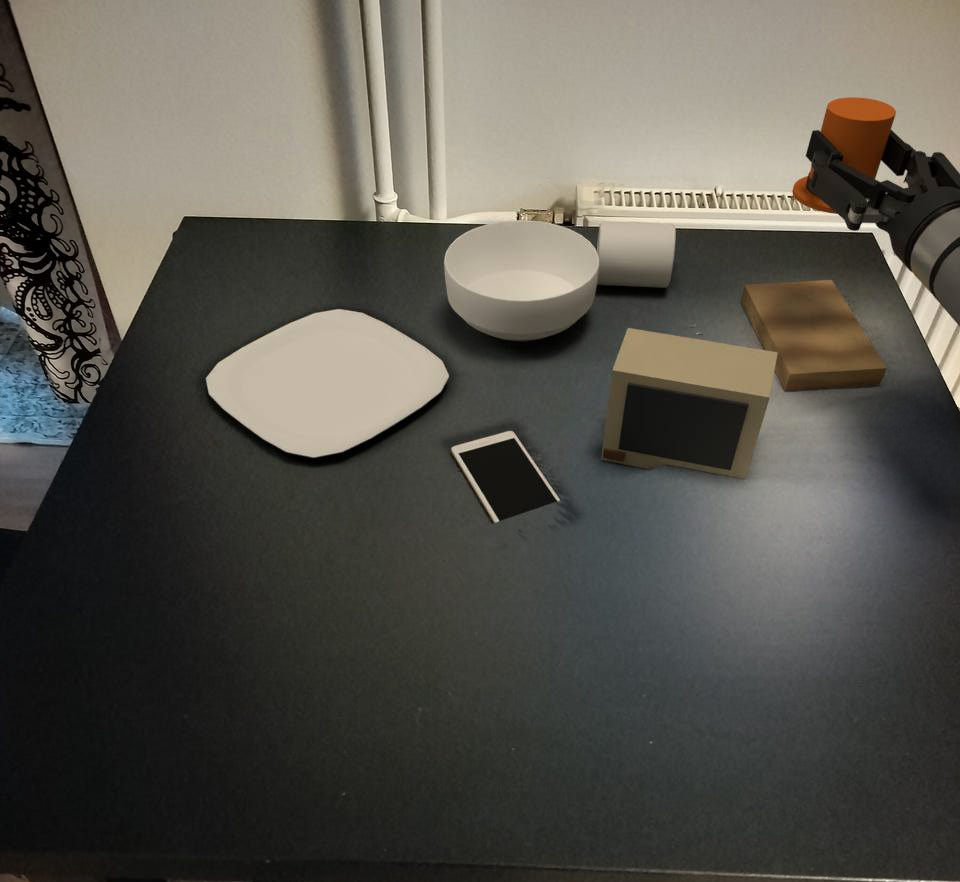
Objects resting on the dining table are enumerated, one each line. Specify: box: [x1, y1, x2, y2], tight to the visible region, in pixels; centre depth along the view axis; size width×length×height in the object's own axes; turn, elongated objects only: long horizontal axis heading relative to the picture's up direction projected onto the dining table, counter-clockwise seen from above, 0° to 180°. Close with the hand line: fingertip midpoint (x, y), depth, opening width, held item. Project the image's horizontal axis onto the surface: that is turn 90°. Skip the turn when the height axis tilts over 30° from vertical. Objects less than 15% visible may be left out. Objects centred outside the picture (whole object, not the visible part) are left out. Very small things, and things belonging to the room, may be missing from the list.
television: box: [600, 327, 778, 480], centre depth 97 cm, size 16×8×12 cm, turn 73°
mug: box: [596, 220, 677, 289], centre depth 122 cm, size 12×10×8 cm
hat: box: [791, 96, 897, 215], centre depth 100 cm, size 10×10×9 cm
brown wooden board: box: [740, 279, 888, 392], centre depth 114 cm, size 20×12×2 cm, turn 5°
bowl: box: [443, 219, 599, 342], centre depth 115 cm, size 20×20×8 cm
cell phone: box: [450, 430, 561, 524], centre depth 98 cm, size 8×16×1 cm, turn 22°
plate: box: [205, 308, 450, 460], centre depth 109 cm, size 25×25×2 cm
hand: (845, 140), depth 100 cm, fingers closed on hat, 7 cm apart
